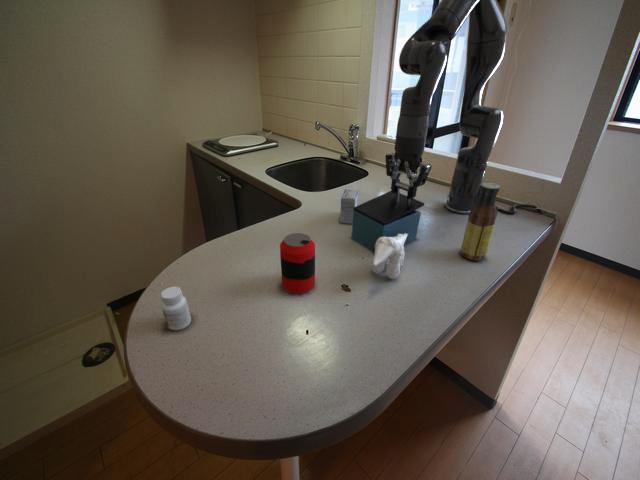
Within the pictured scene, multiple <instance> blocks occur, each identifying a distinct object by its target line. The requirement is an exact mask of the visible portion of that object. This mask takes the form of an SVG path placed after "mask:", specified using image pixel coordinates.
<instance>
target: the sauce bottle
mask: <svg viewBox="0 0 640 480" xmlns="http://www.w3.org/2000/svg"><path fill="white" fill-rule="evenodd" d="M500 188H501V187H500V185H499V184H497V183H492V182H482V184H481V187H480V195H479V198H478V201H477V203H476V204H475V205H474V206H473V207H472V208H471V211H470V213H469V214H468V218H467V222H466V226H465V230H464V234H463V238H462V239H463V240H462V243H461V248H460V249H461V250H460V253H461V255H462V256H463V258H465V259H467V260H470V261H474V262H478V261H483V260H485V258H486V255H487V253H488V250H489V247H490V243H491V240H492V237H493V233H494V229H495V226H496V219H497V216H498V210H497V209H496V206H497V205H496V200H497V197H498V193H499V192H500V190H501V189H500Z"/></svg>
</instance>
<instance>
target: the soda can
mask: <svg viewBox="0 0 640 480" xmlns="http://www.w3.org/2000/svg"><path fill="white" fill-rule="evenodd" d="M279 253H280V255H279V257H280V271H281V285H282V288H283V289H284V290H285V291H287V293H290V294H294V295H303V294H306V293H308V292H310V291H311V290H313V288H314V287H315V285H316V243H315V241H314V240H313V239H312V238H311V237H310V235H308V234H306V233H304V232H303V233H302V232H294V233H290V234H288V235H286V236H285V237H284V238H283V240H282V241H281V242H280V243H279Z"/></svg>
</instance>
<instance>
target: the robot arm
mask: <svg viewBox="0 0 640 480" xmlns="http://www.w3.org/2000/svg"><path fill="white" fill-rule="evenodd" d="M466 20H468V28H467V39H466V55H465V57H466V60H465V61H466V62H465V75H464V88H463V96H462V100H461V108H460V112H459V113H460V114H459V125H458V127H459V131H460V133H461V135H463V136H464V137H468V138H473V139H476V142H475V144H474V145H473V146H468V147H463V148H460V150H459V151H458V153H457V157H456V161H455V166H454V170H453V174H452V178H451V182H450V186H449V191H448V193H447V194H446V203H445V208H446V209H447V210H448V211H450V212H452V213H457V214H463V215H465V214H466V215H469V214H470V211H471V208H472V207H473V206H474V205H475V204H476V203H477V201H478V198H479V195H480V187H481V184H483V180H484V176H485V173H486V169H487V166H488V162H489V159H490V157H491V155H492V153H493V151H494V148H495V145H496V142H497V140H498V136H499V133H500V130H501V128H502V125H503V120H504V114H503V111H502V109H500V108H498V107H492V106H485V105H481V103H482V101H481V100H482V95H483V91H484V88H485V86H486V84H487V82H488V81H489V79H490V78H491V77H492V75H493V74H494V73H495V71H496V70H497V69H498V67H499V66H500V64H501V62H502V60H503V58H504V54H505V49H506V41H507V34H508V23H507V20H506V17H505V15H504V12H503V10H502V8H501V6H500V3H499V1H498V0H440V2H439V3H438V4H437V6H436V8H435V9H434V11H433V13H432V14H431V16H430V17H429V18H428V20H426V21H425V22H423V24H422V25H421V26H420V27H419V28H418V29H417V30H415V32H414V33H413V34H412V35H411V36H410V37H409V38H408V39H407V40H406V42H405V43H404V45H403V47H402V48H401V50H400V53H399V58H398V65H399V68H400V70H401V72H402V73H403V74H406V75H409V76H419V78H418V81H417V82H416V84H415V85H413V86H408V87H406V88H405V89H403V91H402V95H401V101H400V107H399V110H400V111H399V116H398V119H397V120H398V121H397V124H396V134H395V139H394V148H393V149H394V152H392V153H387V154H386V155H385V156H384V157H385V172H386V176H387V177H389V178H390V179H391V182H390V183H391V184H390V191H391V190H392V193H396V187H395V183H396V181H400V182H401V179H400V178H401V176H402V174H403V173H404V174H406V178H407V179H408V185H410V186H409V189H408V191H407V192H408V195H406V196H407V199H409V200H410V199H415V198H416V196H417V191H418V188H419V187H422V186H424V185H425V184H426V183H427V180H428V176H429V175H430V172H431V170H432V164H431V163H428V164H427V163H425V162H424V161H423V154H424V152H425V148H426V141H427V137H428V136H427V135H428V131H429V123H430V113H431V107H432V100H433V96H434V93H435V91H436V89H437V87H438V84H439V82H440V79H441V77H442V75H443V72H444V71H445V68H446V64H447V60H448V49H447V46H446V44H448V43H450V42H451V41H453V40H454V38H455V37H456V36H457V35H458V32H459V31H460V30H461V28H462V27H463V25H464V24H465V22H466ZM536 206H537V205H535V204H529V203H522V204H520V203H519V204H513V205H512V206H511V210H507V209H503V208H501V207H500V206H497V205H496V209H497V211H499V212H501V213H504V214H507V215H508V214H509V215H514V214H516V213H517V209H516V208H531V209H534V210H536V211H538V213H541V214H543V213H544V210H543V209H542V208H540V209H535V208H537V207H538V206H537V207H536Z"/></svg>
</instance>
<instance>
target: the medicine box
mask: <svg viewBox="0 0 640 480" xmlns="http://www.w3.org/2000/svg"><path fill="white" fill-rule="evenodd" d="M358 195H359V190H357V189H353V188H351V189H350V188H345V189H344V191H343V193H342V196H341V198H340V214H339V215H340V218H339V219H340V220H339V223H341V224H349V225H353V212H354V207H356V206H358Z"/></svg>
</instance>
